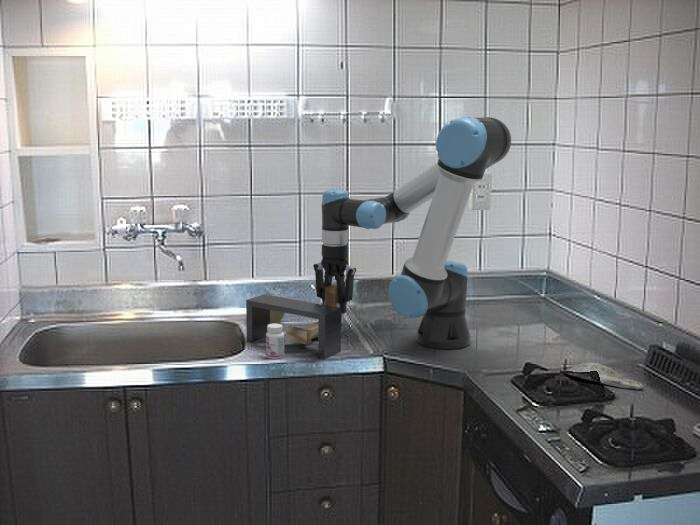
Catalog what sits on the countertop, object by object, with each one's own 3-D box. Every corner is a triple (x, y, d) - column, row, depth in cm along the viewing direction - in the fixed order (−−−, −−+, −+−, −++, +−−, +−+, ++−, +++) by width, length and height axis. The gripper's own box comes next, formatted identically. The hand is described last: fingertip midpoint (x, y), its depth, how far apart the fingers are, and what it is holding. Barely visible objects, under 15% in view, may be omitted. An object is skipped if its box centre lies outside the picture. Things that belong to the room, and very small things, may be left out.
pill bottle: (262, 356, 199) (262, 325, 197) (273, 352, 202) (273, 321, 201) (276, 360, 196) (276, 329, 194) (287, 355, 200) (287, 324, 198)
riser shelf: (341, 351, 204) (341, 308, 202) (324, 359, 197) (325, 314, 195) (264, 334, 217) (264, 294, 215) (246, 341, 211) (246, 299, 208)
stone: (636, 404, 178) (648, 390, 185) (638, 391, 176) (651, 376, 184) (556, 379, 188) (571, 366, 196) (558, 365, 187) (573, 353, 195)
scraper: (348, 326, 222) (348, 286, 220) (306, 344, 204) (307, 301, 202) (328, 322, 226) (328, 283, 223) (285, 339, 208) (285, 297, 206)
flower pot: (286, 327, 225) (286, 304, 223) (252, 326, 225) (252, 303, 223) (289, 318, 234) (289, 295, 233) (257, 317, 235) (257, 295, 233)
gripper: (366, 245, 216) (364, 324, 221) (317, 239, 225) (317, 315, 229) (352, 249, 210) (351, 330, 215) (303, 242, 218) (303, 321, 223)
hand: (333, 322), depth 222 cm, fingers closed on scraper, 3 cm apart
